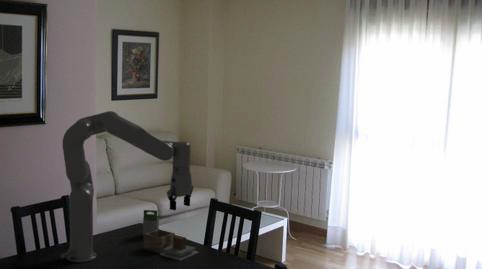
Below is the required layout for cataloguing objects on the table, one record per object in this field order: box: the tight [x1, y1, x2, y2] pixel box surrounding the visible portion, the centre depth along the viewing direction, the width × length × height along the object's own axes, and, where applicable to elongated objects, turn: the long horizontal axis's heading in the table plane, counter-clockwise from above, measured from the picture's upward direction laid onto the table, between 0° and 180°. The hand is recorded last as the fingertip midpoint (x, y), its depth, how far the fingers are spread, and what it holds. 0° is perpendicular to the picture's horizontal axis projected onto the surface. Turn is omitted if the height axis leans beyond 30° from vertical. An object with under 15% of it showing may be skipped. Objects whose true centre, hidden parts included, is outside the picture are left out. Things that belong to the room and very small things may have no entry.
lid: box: [163, 235, 196, 257], centre depth 248 cm, size 10×10×7 cm
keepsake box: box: [143, 228, 176, 255], centre depth 255 cm, size 10×10×7 cm
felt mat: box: [159, 250, 200, 262], centre depth 249 cm, size 13×12×1 cm
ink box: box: [142, 209, 160, 237], centre depth 273 cm, size 7×4×13 cm, turn 84°
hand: (179, 207), depth 246 cm, fingers open, 9 cm apart
